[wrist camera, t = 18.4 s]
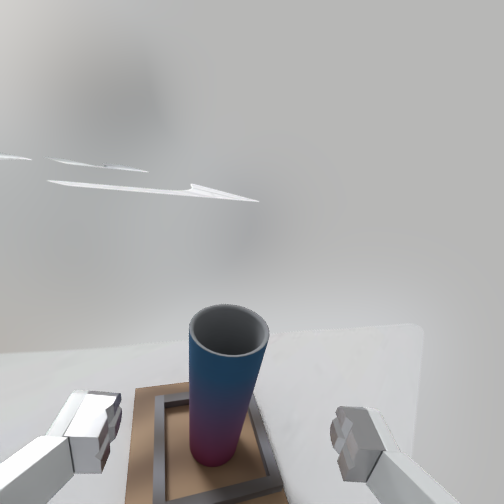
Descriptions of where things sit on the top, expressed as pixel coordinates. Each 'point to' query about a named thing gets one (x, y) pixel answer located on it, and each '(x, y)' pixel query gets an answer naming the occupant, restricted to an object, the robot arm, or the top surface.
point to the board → (183, 463)
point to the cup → (222, 378)
